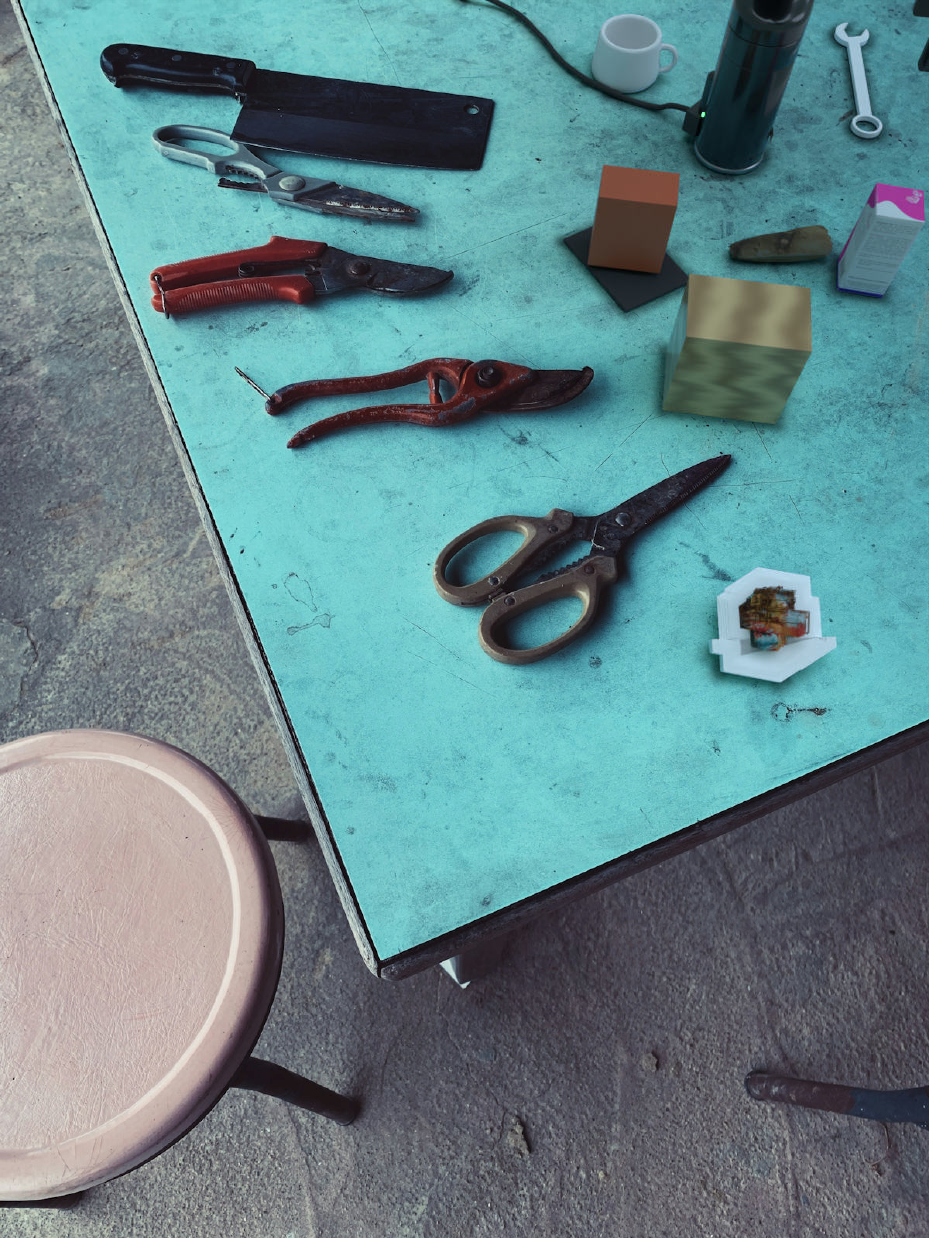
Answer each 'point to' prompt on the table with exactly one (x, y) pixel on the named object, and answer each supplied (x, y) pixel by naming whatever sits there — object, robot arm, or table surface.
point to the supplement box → (880, 240)
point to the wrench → (858, 80)
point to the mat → (628, 276)
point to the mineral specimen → (769, 626)
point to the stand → (737, 348)
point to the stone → (785, 246)
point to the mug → (630, 53)
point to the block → (633, 218)
